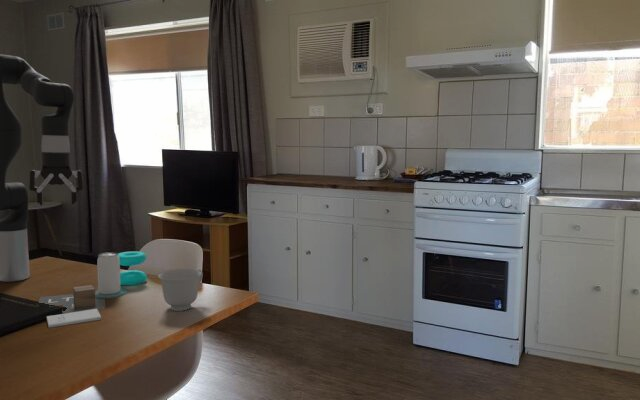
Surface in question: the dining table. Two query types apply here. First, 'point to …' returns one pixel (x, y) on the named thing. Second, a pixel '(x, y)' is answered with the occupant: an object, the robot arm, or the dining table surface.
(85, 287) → the walnut block
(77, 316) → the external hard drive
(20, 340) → the dining table surface
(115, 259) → the can
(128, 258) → the donuts
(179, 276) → the teacup
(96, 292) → the coaster
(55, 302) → the tile
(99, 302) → the tile
